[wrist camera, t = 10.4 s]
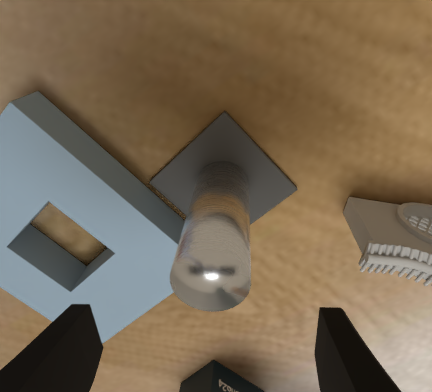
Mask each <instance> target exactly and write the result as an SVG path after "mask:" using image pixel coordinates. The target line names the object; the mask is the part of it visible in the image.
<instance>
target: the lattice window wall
mask: <svg viewBox="0 0 432 392" xmlns="http://www.w3.org/2000/svg"><path fill="white" fill-rule="evenodd" d="M343 215H344V217H345V219H346V221H347V223H348V225H349V227H350V229H351V231H352V233H353V235H354V237H355V240H356V242H357V244H358V246H359V248H360V250H361V252H362V256H361V259H360V261H359V266H362V268H361V269H360V271H361V272H364V270H365V269H366V268H367V267H370V268H369V269H368V272H369V273H371V272H372V271H373V270H374V268H375V267H376V268H377V269H376V270H375V273H378V272H379V271H380V270H381V269H382V268H384V269H383V270H382V273H383V274H385V273H386V272H387V271H388V269H391V270H390V271H389V274H391V275H392V274H393V273H394V272H395V271H399V272H400V273H399V274H398V276H399V277H402V275H403V274H404V273H407V274H408V275H407V276H406V278H407V279H410V278H411V277H412V276H413V275H415V276H416V277H417V278H416V279H415V282H419V281H420V280H421V279H422V278H423V279H425V280H426V282H425V283H424V286H428V285H429V284H430V283H431V282H432V237H431V236H432V205H429V204H423V203H414V202H411V203H403V204H402V205H398V204H392V203H386V202H379V201H373V200H367V199H360V198H354V197H349V198H348V201H347V203H346V206H345V209H344V212H343Z"/></svg>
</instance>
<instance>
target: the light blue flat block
mask: <svg viewBox="0 0 432 392" xmlns="http://www.w3.org/2000/svg"><path fill="white" fill-rule="evenodd" d="M49 202H50V203H52V204H53V205H54V206H55V207H57V208H58V209H59V210H61V211H62V212H63V213H64V214H66V215H67V216H68V217H69V218H71V219H72V220H73V221H75V222H76V223H77V224H78V225H80V226H81V227H82V228H84V229H85V230H86V231H87V232H89V233H90V234H91V235H92V236H94V237H95V238H96V239H98V240H99V241H100V242H101V243H103V244H104V245H105V246H107V247H108V248H107V249H106V250H104V251H103V252H102V253H101V254H100V255H99V256H98V257H97V258H95V259H94V260H93V261H92V262H91V263H90V264H89V265H88V266H86V265H84V264H83V263H82V262H80V261H79V260H78V259H76V258H75V257H74V256H72V255H71V254H70V253H68V252H67V251H66V250H64V249H63V248H62V247H60V246H59V245H58V244H56V243H55V242H53V241H52V240H51V239H49V238H48V237H47V236H45V235H44V234H43V233H41V232H40V231H39V230H37V229H36V228H35V227H33V226H32V225H31V224H30V223H31V222H32V221H33V220H34V219H35V217H36V216H37V215H38V214H39V213H40V212H41V211H42V210H43V209H44V208H45V207H46V206H47V204H48V203H49ZM184 223H185V220H183V219H182V218H181V217H180V216H179V215H178V214H177V213H176V212H174V211H173V210H172V209H171V208H170V207H169V206H168V205H166V204H165V203H164V202H163V201H162V200H161V199H160V198H159V197H157V196H156V195H155V194H154V193H153V192H152V191H151V190H150V189H148V188H147V187H146V186H145V185H144V184H143V183H142V182H140V181H139V180H138V179H137V178H136V177H135V176H134V175H133V174H131V173H130V172H129V171H128V170H127V169H126V168H125V167H123V166H122V165H121V164H120V163H119V162H118V161H117V160H116V159H114V158H113V157H112V156H111V155H110V154H109V153H108V152H107V151H105V150H104V149H103V148H102V147H101V146H100V145H99V144H97V143H96V142H95V141H94V140H93V139H92V138H91V137H90V136H88V135H87V134H86V133H85V132H84V131H83V130H82V129H81V128H79V127H78V126H77V125H76V124H75V123H74V122H73V121H71V120H70V119H69V118H68V117H67V116H66V115H65V114H64V113H62V112H61V111H60V110H59V109H58V108H57V107H56V106H54V105H53V104H52V103H51V102H50V101H49V100H48V99H47V98H45V97H44V96H43V95H42V94H41V93H40V92H39V91H37V92H34V93H32V94H29V95H26V96H24V97H21V98H19V99H16V100H14V101H11V102H9V104H8V105H7V107H6V108H5V109H4V111H3V112H2V114H1V115H0V287H1V288H2V289H4V290H5V291H7V292H8V293H10V294H11V295H13V296H14V297H16V298H17V299H19V300H20V301H22V302H23V303H25V304H26V305H28V306H29V307H31V308H32V309H34V310H35V311H37V312H39V313H40V314H42V315H43V316H45V317H46V318H48V319H49V320H51V321H52V322H53V321H54V320H55V319H56V318H57V317H58V316H59V315H60V314H61V313H63V312H64V311H65V310H66V309H67V308H68V307H69V306H70V305H71V304H90V306H91V309H92V313H93V316H94V319H95V322H96V326H97V329H98V332H99V335H100V339H101V342H102V344H103V343H104V342H105V341H107V340H108V339H109V338H111V337H112V336H114V335H115V334H116V333H118V332H119V331H121V330H122V329H123V328H125V327H126V326H127V325H129V324H130V323H132V322H133V321H134V320H136V319H137V318H138V317H140V316H141V315H143V314H144V313H145V312H147V311H148V310H150V309H151V308H152V307H154V306H155V305H156V304H158V303H159V302H161V301H162V300H163V299H165V298H166V297H168V296H169V295H170V294H172V293H173V292H174V291H173V289H172V287H171V284H170V272H171V268H172V265H173V261H174V258H175V254H176V251H177V247H178V244H179V240H180V237H181V233H182V230H183V226H184Z"/></svg>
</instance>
